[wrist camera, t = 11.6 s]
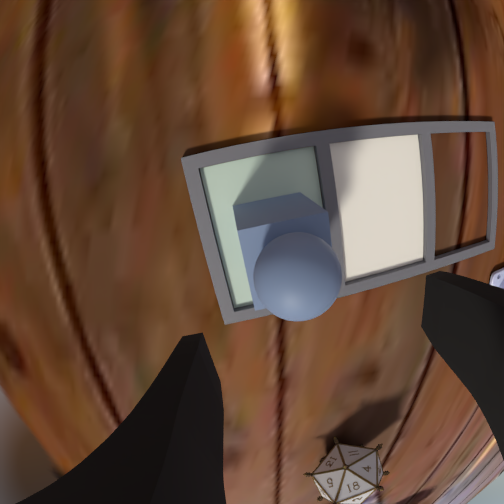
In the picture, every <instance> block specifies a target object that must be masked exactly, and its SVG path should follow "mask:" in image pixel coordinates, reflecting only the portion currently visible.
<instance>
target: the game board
mask: <svg viewBox="0 0 504 504" xmlns="http://www.w3.org/2000/svg"><path fill="white" fill-rule="evenodd" d="M449 132H486V141H487V156H488V220H487V235H486V240H485V241H482V242H479V243H476V244H473V245H469V246H466V247H463V248H460V249H457V250H454V251H451V252H447V253H444V254H441V255H438V256H435V182H434V165H433V153H432V143H431V134H430V133H449ZM414 134H417V135H414ZM401 135H404V136H401ZM390 136H392V137H390ZM379 137H382V138H379ZM370 138H372V139H370ZM361 139H363V140H361ZM353 140H354V141H353ZM345 141H346V142H345ZM337 142H339V143H337ZM330 143H331V144H330ZM310 146H311V147H310ZM303 147H305V148H303ZM297 148H299V149H297ZM291 149H293V150H291ZM285 150H287V151H285ZM314 150H315V152H314ZM280 151H281V152H280ZM274 152H275V153H274ZM269 153H270V154H269ZM263 154H265V155H263ZM258 155H260V156H258ZM253 156H254V157H253ZM315 156H316V158H315ZM248 157H249V158H248ZM243 158H244V159H243ZM238 159H240V160H238ZM234 160H235V161H234ZM181 161H182V165H183V170H184V174H185V178H186V182H187V186H188V190H189V194H190V198H191V203H192V207H193V210H194V214H195V218H196V222H197V226H198V230H199V234H200V238H201V241H202V245H203V249H204V253H205V256H206V260H207V264H208V267H209V271H210V275H211V278H212V282H213V285H214V289H215V292H216V296H217V299H218V303H219V306H220V310H221V313H222V317H223V320H224V323H225V324H230V323H235V322H240V321H244V320H249V319H254V318H258V317H263V316H267V315H271V314H273V313H271V312H270V311H269V310H268V309H266V308H265V309H261V310H256V311H255V309H254V304H253V300H252V296H251V291H250V287H249V282H248V278H247V273H246V269H245V264H244V260H243V255H242V250H241V246H240V241H239V237H238V232H237V227H236V222H235V217H234V211H233V206H234V205H239V204H243V203H248V202H253V201H258V200H262V199H267V198H272V197H277V196H282V195H287V194H293V193H298V192H300V193H302V194H303V195H305V196H306V197H308V198H309V199H311V200H312V201H313V202H315V203H316V204H318V205H319V206H321V207H322V208H323V209H325V210H326V211H328V215H329V224H330V233H331V242H332V249H333V250H334V252H335V253H336V255H337V257H338V259H339V262H340V265H341V270H342V283H341V288H340V292H339V294H338V296H337V298H340V297H344V296H347V295H351V294H355V293H358V292H362V291H365V290H369V289H372V288H376V287H379V286H383V285H386V284H389V283H393V282H396V281H399V280H403V279H406V278H409V277H413V276H416V275H419V274H422V273H425V272H428V271H431V270H434V269H437V268H441V267H444V266H447V265H450V264H452V263H455V262H458V261H461V260H464V259H467V258H470V257H473V256H475V255H478V254H481V253H484V252H486V251H489V250H492V249H494V246H495V236H496V223H497V203H498V165H497V145H496V133H495V123H494V122H489V121H429V122H406V123H390V124H377V125H366V126H356V127H346V128H338V129H330V130H322V131H315V132H307V133H301V134H294V135H288V136H282V137H276V138H270V139H265V140H259V141H254V142H249V143H244V144H239V145H234V146H229V147H225V148H220V149H216V150H211V151H207V152H203V153H198V154H194V155H190V156H186V157H182V158H181ZM229 161H230V162H229ZM224 162H226V163H224ZM316 162H317V164H316ZM220 163H221V164H220ZM216 164H217V165H216ZM211 165H212V166H211ZM207 166H208V167H207ZM203 167H204V168H203ZM199 168H200V171H199ZM317 168H318V170H317ZM200 172H201V175H200ZM318 175H319V177H318ZM201 176H202V179H201ZM202 180H203V184H202ZM319 181H320V184H319ZM203 185H204V188H203ZM320 188H321V190H320ZM204 189H205V192H204ZM205 193H206V196H205ZM321 195H322V197H321ZM206 198H207V201H206ZM207 202H208V205H207ZM322 202H323V205H322ZM208 206H209V209H208ZM209 210H210V213H209ZM210 214H211V217H210ZM211 218H212V221H211ZM212 222H213V225H212ZM213 227H214V230H213ZM214 231H215V234H214ZM215 235H216V238H215ZM216 239H217V242H216ZM217 243H218V246H217ZM218 247H219V250H218ZM219 251H220V254H219ZM220 255H221V258H220ZM221 259H222V261H221ZM222 263H223V265H222ZM223 267H224V269H223ZM224 270H225V273H224ZM225 274H226V277H225ZM226 278H227V281H226ZM227 282H228V285H227ZM228 286H229V289H228ZM229 290H230V292H229ZM230 294H231V296H230ZM231 297H232V300H231ZM232 301H233V304H232ZM233 305H234V307H233Z"/></svg>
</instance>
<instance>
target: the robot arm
mask: <svg viewBox="0 0 504 504" xmlns="http://www.w3.org/2000/svg"><path fill="white" fill-rule="evenodd" d="M421 327H422V328H423V330H424V332H425V333H426V335H427V337H428V338H429V340H430V342H431V343H432V345H433V346H434V348H435V349H436V351H437V352H438V353H439V354H440V356H441V357H442V358H443V359H444V360H445V362H446V363H447V364H448V365H449V367H450V368H451V369H452V370H453V371H454V373H455V374H456V375H457V376H458V378H459V379H460V380H461V381H462V383H463V384H464V385H465V386H466V388H467V389H468V390H469V392H470V393H471V394H472V396H473V397H474V399H475V400H476V402H477V404H478V405H479V407H480V409H481V411H482V412H483V414H484V416H485V418H486V420H487V422H488V424H489V426H490V428H491V430H492V432H493V434H494V436H495V439H496V441H497V444H498V446H499V449H500V452H501V454H502V457H503V460H504V268H502V269H499V270H497V271H495V272H493V273H492V275H491V278H490V284H486V283H483V282H480V281H477V280H474V279H470V278H467V277H464V276H460V275H456V274H452V273H448V272H443V271H439V272H436V273H433V274H430V275H427V276H426V286H425V297H424V308H423V317H422V325H421ZM223 423H224V409H223V400H222V391H221V382H220V379H219V376H218V374H217V371H216V369H215V366H214V363H213V360H212V358H211V355H210V352H209V349H208V347H207V344H206V341H205V338H204V335H203V333H198V334H193V335H188V336H183V337H182V338H181V340H180V341H179V343H178V344H177V346H176V347H175V349H174V351H173V352H172V354H171V355H170V357H169V359H168V360H167V362H166V363H165V365H164V366H163V368H162V370H161V371H160V373H159V374H158V376H157V377H156V379H155V380H154V382H153V383H152V385H151V386H150V388H149V389H148V390H147V392H146V393H145V394H144V396H143V397H142V398H141V400H140V401H139V402H138V404H137V405H136V406H135V408H134V409H133V410H132V412H131V413H130V414H129V415H128V416H127V418H126V419H125V420H124V421H123V422H122V423H121V424H120V425H119V427H118V428H117V429H116V430H115V431H114V432H113V433H112V434H111V435H110V436H109V437H108V438H107V439H106V440H105V441H104V442H103V443H102V444H101V445H100V446H99V447H98V448H96V449H95V450H94V451H93V452H92V453H91V454H90V455H89V456H88V457H87V458H85V459H84V460H83V461H82V462H81V463H80V464H78V465H77V466H76V467H74V468H73V469H72V470H71V471H69V472H68V473H67V474H65V475H64V476H62V477H61V478H59V479H58V480H57V481H55V482H54V483H52V484H51V485H49V486H48V487H46V488H44V489H43V490H41V491H39V492H37V493H35V494H33V495H32V496H30V497H28V498H26V499H24V500H22V501H20V502H18V503H16V504H226V499H225V491H224V481H223Z"/></svg>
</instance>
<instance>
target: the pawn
mask: <svg viewBox="0 0 504 504" xmlns="http://www.w3.org/2000/svg"><path fill="white" fill-rule="evenodd" d="M233 211H234V217H235V222H236V227H237V232H238V237H239V241H240V246H241V250H242V255H243V260H244V264H245V269H246V273H247V278H248V282H249V287H250V291H251V296H252V300H253V304H254V309H255V311H256V310H261V309H265V308H266V309H268V310H269V311H270V312H271V313H273V314H274V315H276V316H278V317H280V318H282V319H285V320H290V321H305V320H310V319H313V318H315V317H317V316H319V315H321V314H322V313H324V312H325V311H326V310H328V309H329V308H330V306H331V305H332V304H333V303H334V301H335V300H336V298H337V296H338V294H339V292H340V288H341V283H342V270H341V265H340V262H339V259H338V257H337V255H336V253H335V252H334V250H333V249H332V242H331V233H330V224H329V215H328V211H326V210H325V209H323V208H322V207H321V206H319V205H318V204H316V203H315V202H313V201H312V200H311V199H309V198H308V197H306V196H305V195H303V194H302V193H300V192H298V193H293V194H287V195H282V196H277V197H272V198H267V199H262V200H258V201H253V202H248V203H243V204H239V205H234V206H233Z"/></svg>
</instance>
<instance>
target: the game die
mask: <svg viewBox="0 0 504 504" xmlns="http://www.w3.org/2000/svg"><path fill="white" fill-rule="evenodd" d="M333 441H334V443H335V446H334V447H333V448H332V449H331V451H330V452H329V453H328V454H327V456H326V457H325V458H324V459H323V460H321V461H320V464H319V465H318V467H317V468H316V469H315V470H314V471H313V473H307V472H306V473H305V474H303V475H304V476H306V477H310V476H312V478H313V480H314V482H315V484H316V486H317V488H318V490H319V492H320V494H321V496H319V498H318V499H317V501H321V500H322V499H323V498H324V499H326V500H328V501H330V502H332V503H333V504H362V503H363V502H364V501H365V500H366V499H367V498H368V497H369V496H370V495H371V494H372V493H373V492H374V491H375V490H376V489H377V490H379V491H382V490H384V489H383V487H381V486H379V484H380V481H381V479H382V476H383V475H388V474H389V473H390V472H388V471H385V472H383V469H382V465H381V462H380V458H379V454H378V450H379V449H380V448H382V444H383V443H382V444H378V446H377V447H376V448H375V449H374V448H367V447H364V446H363V445H360V446H353V445H347V444H341V443H338V441H339V440H338V438H336V437H335V436H334V439H333Z"/></svg>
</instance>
